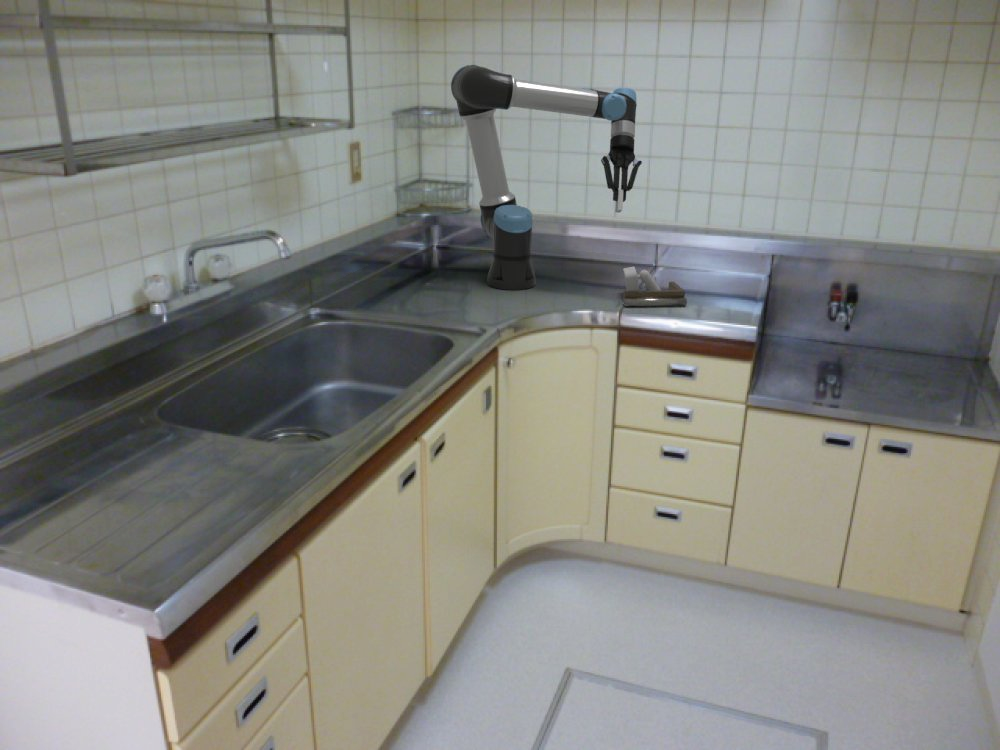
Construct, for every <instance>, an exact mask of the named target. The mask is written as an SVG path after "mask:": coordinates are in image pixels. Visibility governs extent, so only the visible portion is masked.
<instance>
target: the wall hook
mask: <svg viewBox="0 0 1000 750" xmlns="http://www.w3.org/2000/svg"><path fill="white" fill-rule="evenodd" d="M622 270H623V271H622V272H623V278H624V283H625V284H624V285H625V291H639V290H640V285H639V280H641V282H642V283H643V284H644V285H645V287H646V288H647V290H662V289H661V287H660V286H659V284H658V283H657V282H656V279H654V277H653V276H652V275H651V273H650V271H648V270H646V269H643V270H641V271H639V272H640V273H639V274H638V272H637V269H636V268H635V266H630V267H625V268H623V269H622Z"/></svg>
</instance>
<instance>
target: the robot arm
mask: <svg viewBox="0 0 1000 750" xmlns="http://www.w3.org/2000/svg"><path fill="white" fill-rule="evenodd" d="M450 88H451V89H450V90H451V94H452V97H453V98H454V101H456V105H457V109H458V115H459V117H460V118H461V119H463V120H464V121H465V122H466V123H465V124H466V128H467V133H468V136H469V141H470V146H471V149H472V154H473V158H474V163H475V169H476V172H477V177H478V182H479V186H480V192H481V195H482V197H481V199H480V201H479V203H478V205H479V208H480V213H481V214H480V225H481V227H482V229H483V231H484V232H485V234H486V235H487V236H489V238H491V239H492V240H493V249H492V250H493V257H492V260H491V264H490V267H489V270H488V274H487V276H486V278H487V279H486V283H487V285H489V286H490V287H492V288H494V289H495V288H496V289H500V290H506V291H507V290H511V291H512V290H513V291H516V290H518V291H519V290H526V289H527V290H528V289H531V288H534V286H535V285H536V274H535V270H534V267H533V264H532V257H531V255H532V237H533V234H532V233H533V230H532V229H533V224H534V222H533V214H532V212H531V210H530V209H528V208H527V207H525V206H521V205H517V199H516V195H515V194H514V193H512V192H511V191H510V189H509V184H508V179H507V175H506V170H505V165H504V161H503V156H502V152H501V151H502V150H501V146H500V141H499V136H498V131H497V126H496V122H495V117H494V115H495V113H496V110H505V111H506V110H507V111H508V110H510V109H511V108H521V109H526V110H527V109H528V110H535V111H543V112H548V113H549V112H550V113H551V112H552V113H558V114H567V115H575V116H581V117H590V118H594V119H595V118H596V119H604V120H607V121H610V126H611V127H610V141H609V143H610V145H609V152H608V154H607V155H603V156H602V158H601V159H600V162H601V164H602V165H603V169H604V174H605V175H604V176H605V180H606V186H607V189H611V191H612V201H614V202H615V210H614V212H615V213H619V214H620V213H621V212H622V211H623V210H624V209H623V208H624V207H623V203H624V202H626V200H627V192H630V191H631V190H632V189H633V187H634V184H635V180H636V178H637V175H638V174H637V173H638V170H639V167H640V166H641V165H642V163H643V162H642V160H638V159H637V158H636V155H635V137H636V115H637V106H638V105H637V92H636V91H635V90H634V89H633V88H631V87H618V88H616V89H615V90H613V92H608V91H603V90H598V89H594V88H587V87H582V88H579V87H571V86H565V85H558V84H551V83H543V82H537V81H536V82H535V81H530V80H529V81H528V80H522V79H515V77H514V76H513V75H512V74H508V73H507V74H506V73H501V72H499V71H496V70H492V69H490V68H487V67H485V66H479V65H477V64H470V65H469V64H467V65H464V66H462V67H461V68H459V69H457V70H456V71H455V73H454V74H453V76H452V78H451V81H450ZM610 162H611V163H610ZM611 164H612V165H613V173H612V168H611ZM631 164H632V169H631V173H630V175H629V174H628V173H629V166H630V165H631ZM620 174H621V180H620ZM628 175H629V179H628ZM620 181H621V182H620ZM620 184H621V185H620Z"/></svg>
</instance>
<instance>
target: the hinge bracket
mask: <svg viewBox="0 0 1000 750" xmlns="http://www.w3.org/2000/svg"><path fill="white" fill-rule="evenodd" d="M685 295H686V290H684V289H683V288H682V287H680V285H678V284H677V283H676V281H669V282H668V289H666V290H665V289H663V290H662V289H661V290H648V289H647V290H645V289H644V290H643V289H642V290H640V289H639V291H627V290H623V297H622V304H623V303H624V304H625V305H626V306H647V307H686V306H687V302H688V300H687V297H685ZM625 305H624V306H625Z"/></svg>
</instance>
